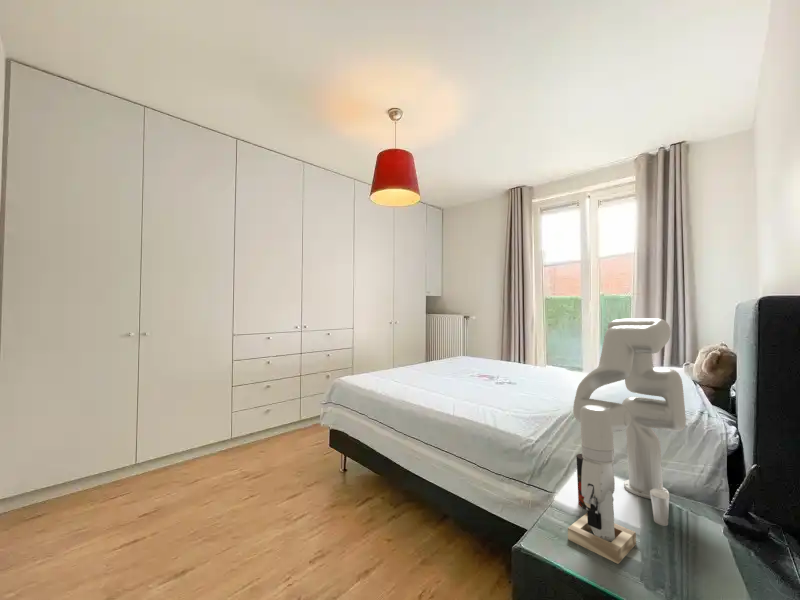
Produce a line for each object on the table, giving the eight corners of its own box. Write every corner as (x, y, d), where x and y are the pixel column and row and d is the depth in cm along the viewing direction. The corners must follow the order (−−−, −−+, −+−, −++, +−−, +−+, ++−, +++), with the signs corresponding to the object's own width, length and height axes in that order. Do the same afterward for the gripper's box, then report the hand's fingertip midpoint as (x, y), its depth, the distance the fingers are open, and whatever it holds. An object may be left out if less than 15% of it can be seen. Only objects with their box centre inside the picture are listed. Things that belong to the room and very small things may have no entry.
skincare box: (615, 542, 87) (613, 493, 88) (597, 540, 88) (595, 492, 88) (605, 527, 93) (603, 482, 94) (588, 526, 94) (586, 481, 94)
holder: (588, 523, 98) (587, 512, 99) (636, 543, 89) (635, 532, 89) (568, 539, 91) (567, 527, 91) (618, 564, 82) (617, 551, 82)
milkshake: (672, 521, 99) (670, 485, 100) (670, 529, 95) (668, 492, 96) (652, 515, 102) (650, 480, 103) (650, 522, 98) (648, 487, 99)
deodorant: (602, 511, 104) (600, 461, 105) (581, 509, 105) (579, 460, 106) (595, 501, 110) (593, 454, 111) (576, 500, 111) (574, 453, 112)
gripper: (596, 442, 100) (599, 504, 99) (568, 457, 89) (571, 527, 88) (625, 449, 94) (629, 516, 93) (598, 466, 83) (602, 541, 82)
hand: (601, 521), depth 91 cm, fingers closed on skincare box, 7 cm apart
